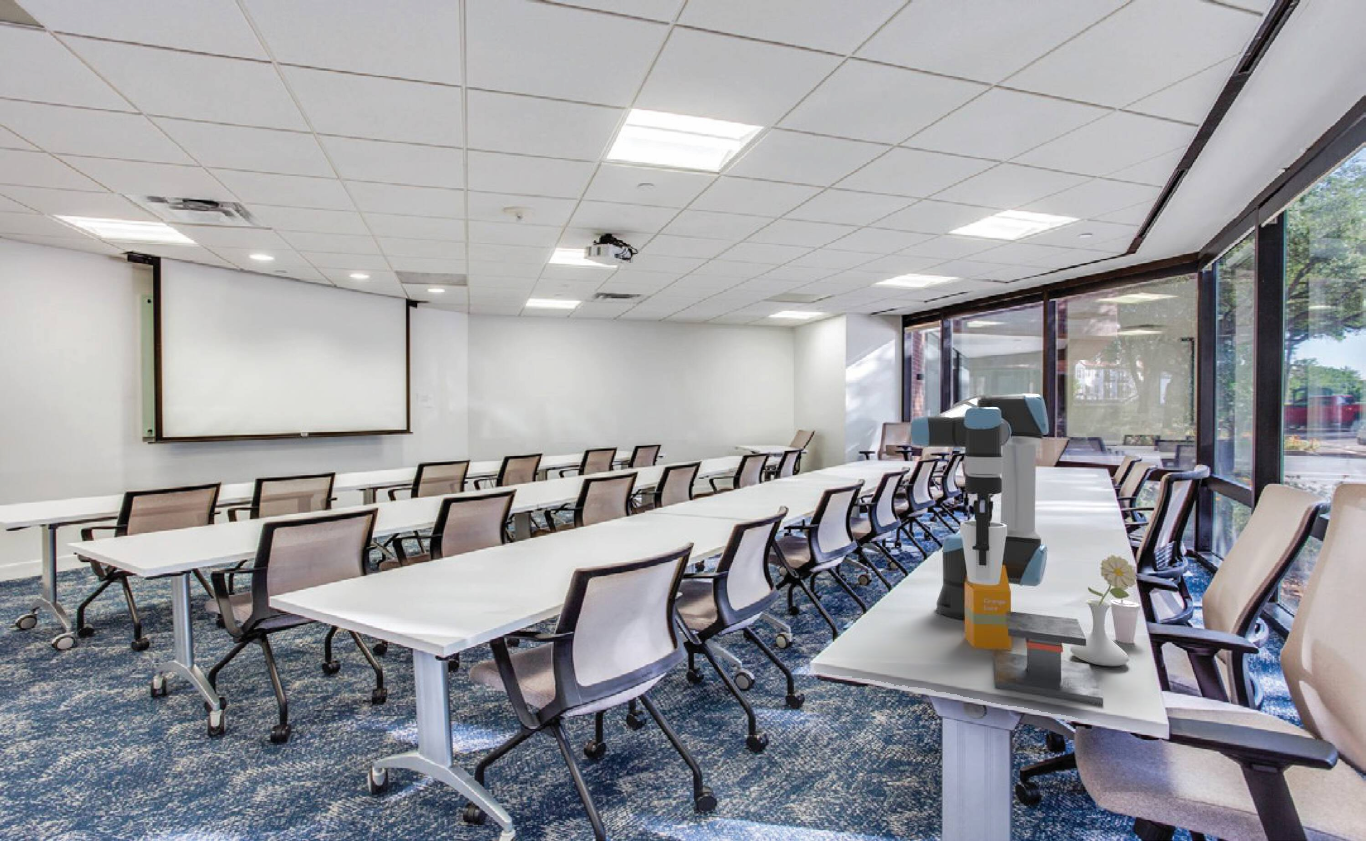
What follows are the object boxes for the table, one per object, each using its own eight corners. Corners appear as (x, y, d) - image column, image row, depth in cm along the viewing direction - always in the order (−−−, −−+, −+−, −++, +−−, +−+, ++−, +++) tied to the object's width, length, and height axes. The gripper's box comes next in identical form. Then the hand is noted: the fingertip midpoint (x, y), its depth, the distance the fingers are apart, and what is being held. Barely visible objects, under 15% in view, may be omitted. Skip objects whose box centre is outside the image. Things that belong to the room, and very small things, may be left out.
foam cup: (994, 576, 144) (993, 520, 144) (1015, 586, 135) (1015, 527, 135) (953, 576, 144) (953, 520, 144) (972, 586, 135) (971, 527, 135)
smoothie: (1112, 634, 162) (1112, 581, 162) (1142, 640, 158) (1142, 585, 158) (1107, 640, 158) (1106, 585, 158) (1137, 647, 153) (1137, 590, 153)
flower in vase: (1076, 667, 141) (1076, 557, 141) (1065, 649, 152) (1064, 548, 152) (1145, 674, 137) (1144, 561, 137) (1128, 656, 147) (1127, 551, 147)
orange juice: (1011, 649, 152) (1011, 568, 152) (973, 647, 153) (973, 567, 153) (1000, 638, 160) (1000, 561, 160) (964, 637, 161) (963, 560, 161)
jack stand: (994, 656, 147) (994, 606, 147) (1089, 670, 139) (1088, 617, 139) (995, 687, 130) (995, 630, 130) (1103, 705, 122) (1102, 644, 122)
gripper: (968, 471, 151) (968, 563, 151) (961, 478, 132) (962, 583, 132) (1002, 472, 148) (1003, 566, 148) (1001, 480, 128) (1001, 588, 128)
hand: (983, 574), depth 140 cm, fingers closed on foam cup, 9 cm apart
